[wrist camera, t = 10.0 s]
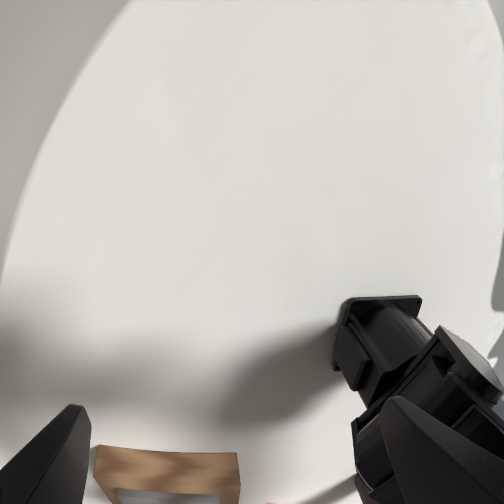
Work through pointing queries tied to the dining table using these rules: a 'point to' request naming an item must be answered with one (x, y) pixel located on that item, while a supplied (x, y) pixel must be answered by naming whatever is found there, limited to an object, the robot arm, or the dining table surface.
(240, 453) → the dining table surface
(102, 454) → the walnut base
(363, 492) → the bottle
